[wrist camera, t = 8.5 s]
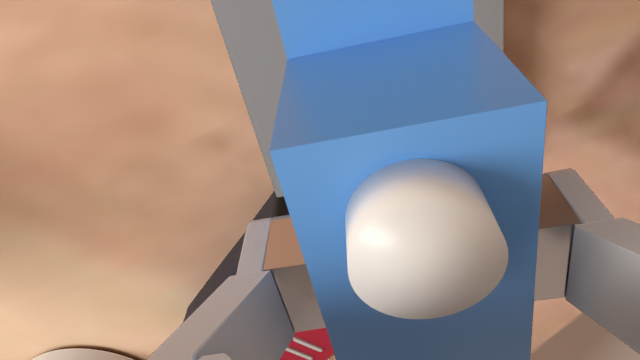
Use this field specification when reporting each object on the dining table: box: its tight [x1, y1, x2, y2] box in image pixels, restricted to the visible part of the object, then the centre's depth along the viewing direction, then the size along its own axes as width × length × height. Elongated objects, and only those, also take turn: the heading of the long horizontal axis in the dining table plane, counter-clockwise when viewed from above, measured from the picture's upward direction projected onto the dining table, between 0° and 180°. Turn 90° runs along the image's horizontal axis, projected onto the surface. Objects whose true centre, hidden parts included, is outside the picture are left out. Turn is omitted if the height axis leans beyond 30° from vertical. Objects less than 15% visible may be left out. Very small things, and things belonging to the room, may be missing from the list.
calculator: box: [184, 191, 334, 360], centre depth 35 cm, size 11×4×15 cm
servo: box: [269, 0, 547, 360], centre depth 10 cm, size 13×4×8 cm, turn 12°
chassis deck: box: [211, 0, 504, 197], centre depth 23 cm, size 18×13×3 cm
